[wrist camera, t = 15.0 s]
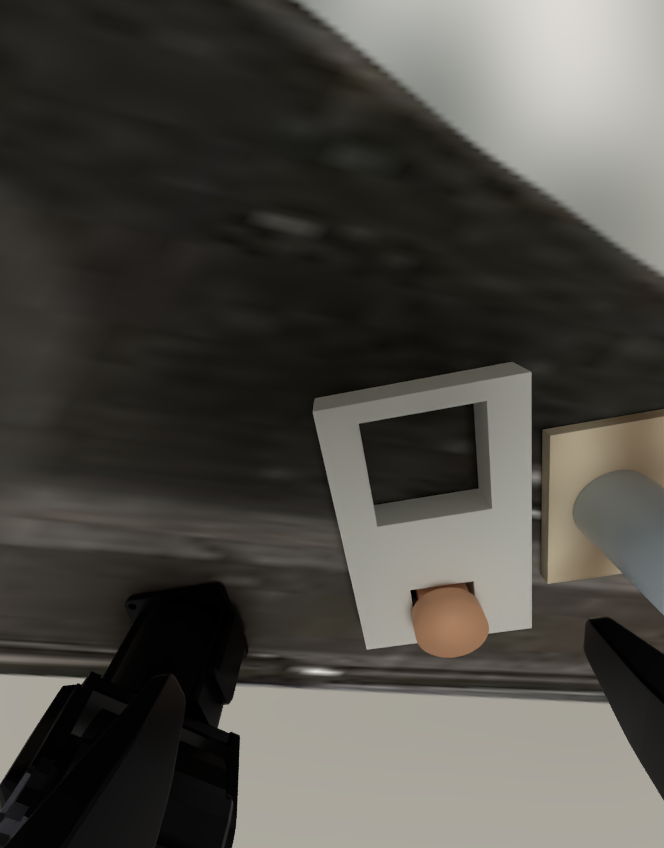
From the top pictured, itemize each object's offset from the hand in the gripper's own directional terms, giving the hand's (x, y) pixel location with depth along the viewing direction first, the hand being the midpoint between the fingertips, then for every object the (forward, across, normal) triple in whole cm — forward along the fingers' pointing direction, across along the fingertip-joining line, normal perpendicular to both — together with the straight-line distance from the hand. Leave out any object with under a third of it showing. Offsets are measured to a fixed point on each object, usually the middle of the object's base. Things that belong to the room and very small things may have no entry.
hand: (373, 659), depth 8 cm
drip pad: (+13, -14, +7) cm, 20 cm away
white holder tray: (+13, -4, +6) cm, 15 cm away
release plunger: (+12, -3, +11) cm, 17 cm away
